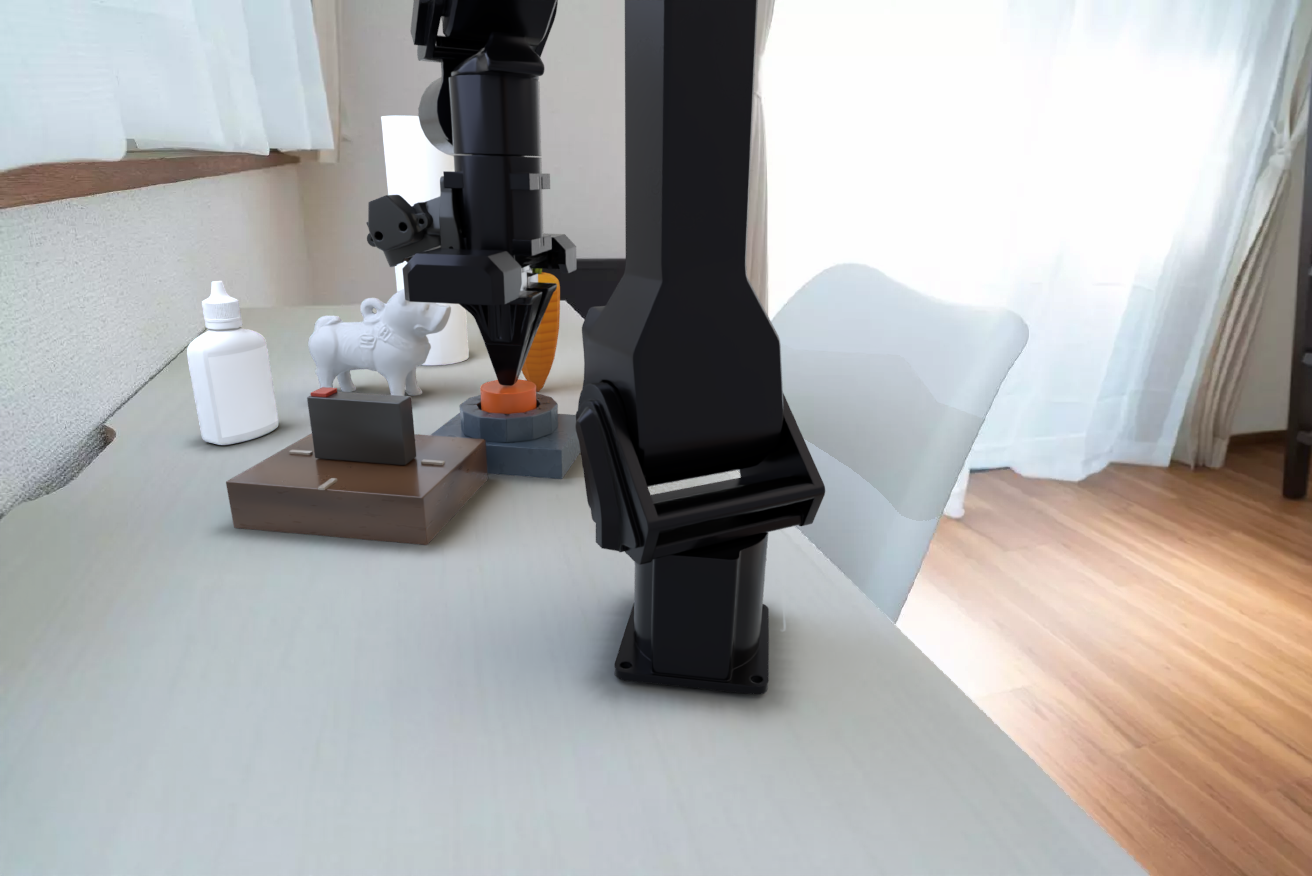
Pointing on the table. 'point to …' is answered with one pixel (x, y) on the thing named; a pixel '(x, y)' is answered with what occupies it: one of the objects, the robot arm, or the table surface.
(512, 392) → the button
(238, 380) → the eye dropper bottle
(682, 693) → the table surface
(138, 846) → the table surface
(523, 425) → the button box
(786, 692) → the table surface
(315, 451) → the block
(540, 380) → the carrot
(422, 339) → the dog figurine
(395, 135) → the cylindrical container
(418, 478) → the brown flat block
